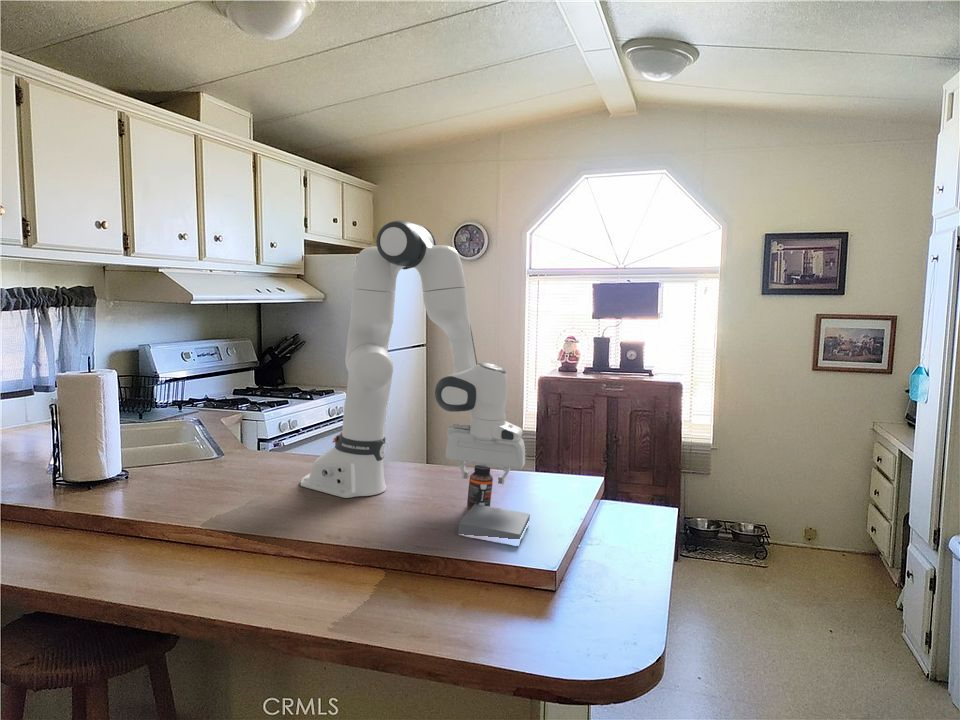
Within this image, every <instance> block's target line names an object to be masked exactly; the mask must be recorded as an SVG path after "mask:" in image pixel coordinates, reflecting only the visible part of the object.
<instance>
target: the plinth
mask: <svg viewBox="0 0 960 720" xmlns="http://www.w3.org/2000/svg"><path fill="white" fill-rule="evenodd" d="M530 515H531V513H529V512H527V513H526V512H521V511H515V510H511V509H505V508H499V507H493V506H490V507H489V506H483V505H478V504H474V505H473V507H472V508H471V509H470V510H469V509H468V512H467V513H466V514H465V515H464V517H463V518H462V519H461V520H460V522H459V524H458V525H459V526H458V534H464V535H474V536H488V537H499V538H508V539H520V537H521V535H522V533H523V531H524V529H525V527H526V525H527V523H528V521H529V522H530V518H531V516H530ZM458 534H457V535H458Z"/></svg>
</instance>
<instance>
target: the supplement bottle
mask: <svg viewBox="0 0 960 720" xmlns="http://www.w3.org/2000/svg"><path fill="white" fill-rule="evenodd" d="M473 471H474V472H471V474H469V482H468V492H467V502H466V507H467V509H468V511H469V510H470V509H471V508H472V507H473V505H474V504H478V505H483V506H489V507H491V499H492V490H493V481H494V477H493V476H492V475H491V466H490V465H483V464H476V465H474V469H473Z"/></svg>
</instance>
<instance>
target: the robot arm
mask: <svg viewBox="0 0 960 720" xmlns="http://www.w3.org/2000/svg"><path fill="white" fill-rule="evenodd" d="M375 243H376V246H374V245H373V246H368V247H366V248H363V249H362V250H361V251H359V253H358V254H357V255H358V256H357V259H356V263H355V267H354V272H353V277H352V288H351V300H350V301H351V302H350V304H351V305H350V313H349V315H350V317H349V326H348V330H347V331H348V333H347V341H346V350H345V359H344V360H345V367H346V370H347V372H348V378H347V386H346V387H347V388H346V394H345V401H344V404H343V416H342V420H343V421H342V429H341V431H342V432H340V433H339V434H337V435H336V436H335V437H334V438H332V443H333V444H335V445H334V447H332V448H331V449H329V450H328V451H326V452H325V453H323V454H322V455H320V456H318V457H317V458H316V459H315V460H314V461H313V463H312V465H311V468H310V472H309V473H308V474H307V475H304V476H303V477H302V478H301V480H300V486H301V487H303V488H307V489H311V490H314V491H318V492H322V493H325V494H329V495H332V496H336V497H340V498H345V499H349V498H354V497H355V498H356V497H368V496H369V497H370V496H375V495H379V494H381V493H383V492H385V491H386V490H387V484H386V481H385V472H384V458H385V453H386V436H385V433H386V432H385V430H386V416H387V408H388V407H387V406H388V402H389V398H390V393H391V387H392V380H393V373H394V361H393V359H392V357H391V356H390V354H389V351H388V350H389V345H390V337H391V332H392V327H393V323H394V315H395V313H394V312H395V305H396V304H395V301H396V287H397V277H398V275H399V272H400V271H401V270H409V269H416V271H417V272H418V273H419V276H420V281H421V289H422V296H423V304H424V307H425V311H426V314H427V317H428V318H429V320H430V321H431V322H432V323H433V324H435V325H436V326H437V327H439V328H440V329H441V330H442V331H443V332H444V333H445V334H446V336H447V339H448V342H449V347H450V352H451V353H450V354H451V357H452V364H453V371H452V373H450V374H448V375H446V376H444V377H442V378H440V379H439V380H438V381H437V384H436V385H435V388H434V398H435V402H436V403H437V405H439V407H440V408H441V409H443V410H444V411H446V412H452V413H457V412H459V413H460V412H468V411H469V412H470V419H469V420H470V421H469V422H470V423H469V425H468V424H459V423H453V424H452V425H449V426H448V428H447V429H446V437H447V442H446V447H445V448H446V449H445V458H446V459H447V460H448V461H455V462H456V461H457V462H458V467H459V469H460V471H461V478H462V479H464V480H468V479H470V472H471V471H470V470H467V467H466V463H470V464H476V465H487V466H489V467H492V466H493V467H498V468H503V472H504V473H503V475H499V476H498V477H497V480H498V482H497V484H498V485H499V484H500V485H505V483H506V477H507V476H508V474H509V472H510V471H511V470H522V468H524V466H525V463H526V447H525V444H526V443H525V441H524V439H522V436H523V429H522V428H521V427H520V426H517V425H515V424H513V423H510V422H509V421H507V420H506V418H507V416H506V411H505V410H506V409H505V408H506V405H507V402H508V385H509V384H508V374H507V372H506V370H505V369H504V368H503V367H501V366H500V365H497V364H494V363H490V362H479V363H478V360H477V355H476V348H475V342H474V336H473V333H472V332H473V331H472V328H471V319H470V313H469V299H468V291H467V289H468V288H467V283H466V277H465V276H466V275H465V271H464V268H463V263H462V260H461V256H460V254H459V252H458V250H456V249H455V248H454V247H452V246H449V245H447V244H446V245H445V244H442V245H441V244H438V245H437V240H436V238H435V236H434V235H433V233H432V232H431V231H430V230H429V229H428V228H427V227H425V226H422V225H420V224H418V223H415V222H413V221H405V220H393V221H390V222H387V223H386V224H384V225H383V226H382V227H381V228H380V230H379V231H378V233H377V236H376V242H375Z"/></svg>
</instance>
